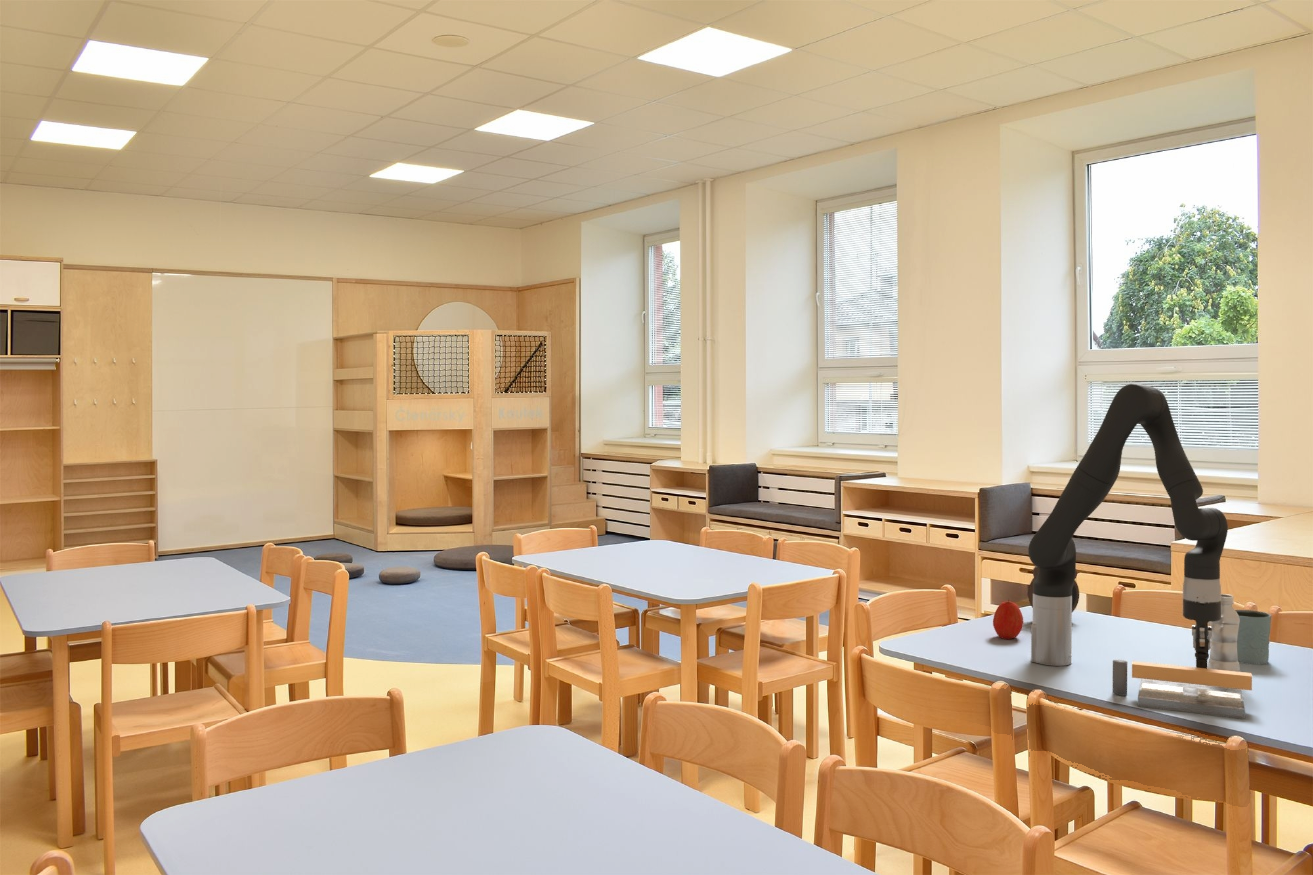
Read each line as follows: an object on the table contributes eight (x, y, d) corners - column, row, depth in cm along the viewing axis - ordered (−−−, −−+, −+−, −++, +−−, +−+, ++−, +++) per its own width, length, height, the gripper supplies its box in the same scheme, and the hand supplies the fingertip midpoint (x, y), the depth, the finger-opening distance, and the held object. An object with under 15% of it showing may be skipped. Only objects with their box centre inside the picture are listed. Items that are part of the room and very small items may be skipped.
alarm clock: (1041, 624, 300) (1041, 557, 299) (1026, 619, 307) (1026, 554, 306) (1083, 621, 304) (1083, 555, 303) (1067, 617, 311) (1067, 552, 310)
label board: (1137, 706, 219) (1138, 695, 219) (1140, 687, 233) (1141, 677, 233) (1244, 719, 210) (1245, 707, 209) (1241, 698, 224) (1241, 688, 224)
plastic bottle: (1244, 684, 235) (1245, 598, 235) (1212, 682, 237) (1213, 597, 236) (1234, 676, 242) (1235, 593, 241) (1203, 675, 243) (1204, 592, 242)
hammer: (1112, 693, 227) (1112, 662, 227) (1112, 690, 230) (1113, 659, 230) (1251, 710, 215) (1251, 676, 214) (1250, 706, 217) (1251, 673, 217)
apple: (1028, 641, 280) (1028, 602, 279) (998, 641, 280) (998, 602, 279) (1018, 634, 288) (1018, 596, 287) (988, 634, 288) (989, 596, 288)
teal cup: (1259, 667, 251) (1260, 618, 250) (1217, 658, 259) (1217, 612, 258) (1278, 660, 257) (1278, 613, 256) (1236, 653, 265) (1236, 607, 264)
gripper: (1182, 591, 233) (1182, 666, 234) (1182, 601, 222) (1182, 680, 222) (1220, 593, 230) (1219, 669, 230) (1222, 604, 218) (1221, 683, 219)
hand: (1201, 674), depth 226 cm, fingers closed
